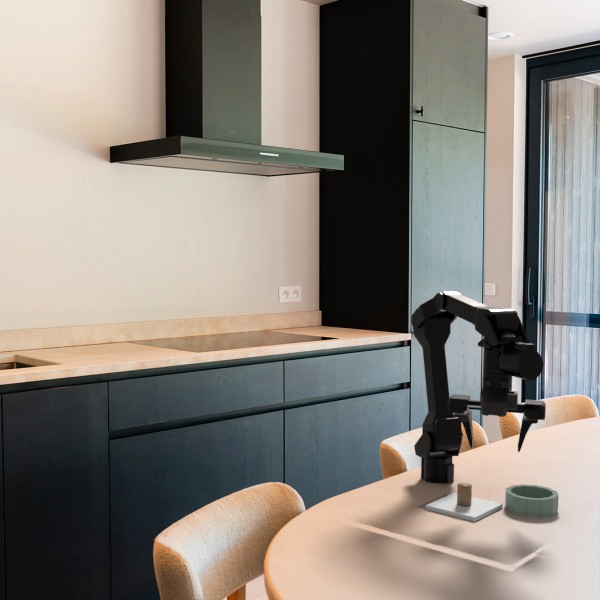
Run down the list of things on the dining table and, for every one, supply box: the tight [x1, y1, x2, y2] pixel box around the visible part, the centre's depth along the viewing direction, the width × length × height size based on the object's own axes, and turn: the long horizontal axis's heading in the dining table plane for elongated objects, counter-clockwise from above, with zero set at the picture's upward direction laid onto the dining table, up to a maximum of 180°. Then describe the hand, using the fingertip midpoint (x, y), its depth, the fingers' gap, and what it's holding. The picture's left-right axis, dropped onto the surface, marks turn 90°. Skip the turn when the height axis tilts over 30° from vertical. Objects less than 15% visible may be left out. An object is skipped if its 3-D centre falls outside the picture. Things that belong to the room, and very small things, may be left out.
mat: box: [417, 494, 503, 523], centre depth 165 cm, size 13×11×1 cm
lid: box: [425, 482, 503, 522], centre depth 164 cm, size 11×11×5 cm
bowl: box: [504, 483, 559, 518], centre depth 164 cm, size 10×10×4 cm
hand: (494, 449), depth 164 cm, fingers open, 9 cm apart
